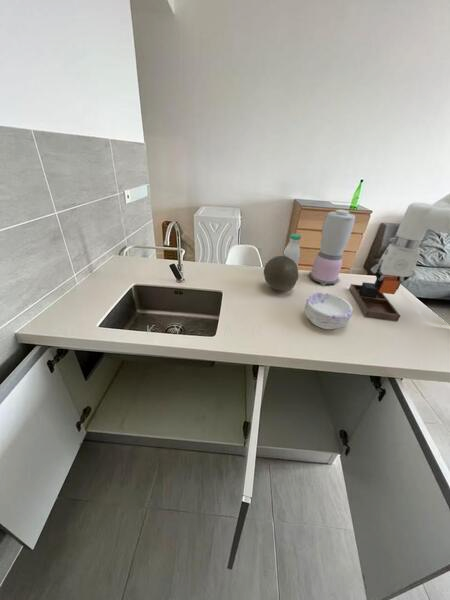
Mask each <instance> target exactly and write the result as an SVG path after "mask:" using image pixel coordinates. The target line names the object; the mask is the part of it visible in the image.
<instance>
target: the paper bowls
mask: <svg viewBox="0 0 450 600" xmlns="http://www.w3.org/2000/svg"><path fill="white" fill-rule="evenodd" d="M303 312H304V315H305V316H306V318H307V319H308V320H309V321H310V322H311V323H312V324H313V325H314V326H316V327H317V328H320V329H324V330H335V329H338V328H344V327H345V326H347V325H348V324H349V322H350V320H351V318H352V315H353V313H354V308H353V306H352V304H351V303H350V302H349V301H347V300H346V299H344V298H343V297H341V296H339V295H336V294H333V293H328V292H314V293H312V294H311V293H310V295H308V297H307V298H306V301H305V305H304V309H303Z"/></svg>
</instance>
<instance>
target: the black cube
mask: <svg viewBox="0 0 450 600" xmlns="http://www.w3.org/2000/svg"><path fill="white" fill-rule="evenodd" d="M374 284H375V282H373V283H372V282H365V281H363V282H362V284H361V285H362V286H361V289H360V291H359V293H360V294H361V296H363V297H371V298H376V296H377V294H378V290H376V289H375V287H374Z"/></svg>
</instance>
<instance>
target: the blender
mask: <svg viewBox="0 0 450 600" xmlns="http://www.w3.org/2000/svg"><path fill="white" fill-rule="evenodd" d="M355 220H356V215H355V214H353V213H350V211H349V210H346V209H336V210H335V211H329V212H328V213H327V215H326V216H325V217H324V220H323V224H322V228H321V233H320V234H321V238H320V248H319V252H318V253H317V254H316V255H315V257H314V259H313V264H312V266H311V267H312V268H311V272H310V276H309V277H310V278H311V279H312V280H314V281H315V282H318V283H320V286H324V287H325V286H327V285H334V286H335V285H336V284H337V283H338V279H339V275H340V272H341V269H342V266H343V258H342V257H343V253H344V251H345V249H346V247H347V245H348V243H349V241H350V238H351V236H352V235H351V234H352V232H353V229H354V224H355Z"/></svg>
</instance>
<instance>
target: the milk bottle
mask: <svg viewBox="0 0 450 600" xmlns="http://www.w3.org/2000/svg"><path fill="white" fill-rule="evenodd" d="M301 237H302V236H301V235H300V234H298V233H291V234H290V236H289V242H288V243H287V245H286V246H285V249H284V250H283V255H282V256H285V257H288V258H290V259H292V260H293V261H294V262H295V263H296V265H297V268H298V267H299V263H300V258H301V247H300V241H301Z"/></svg>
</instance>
